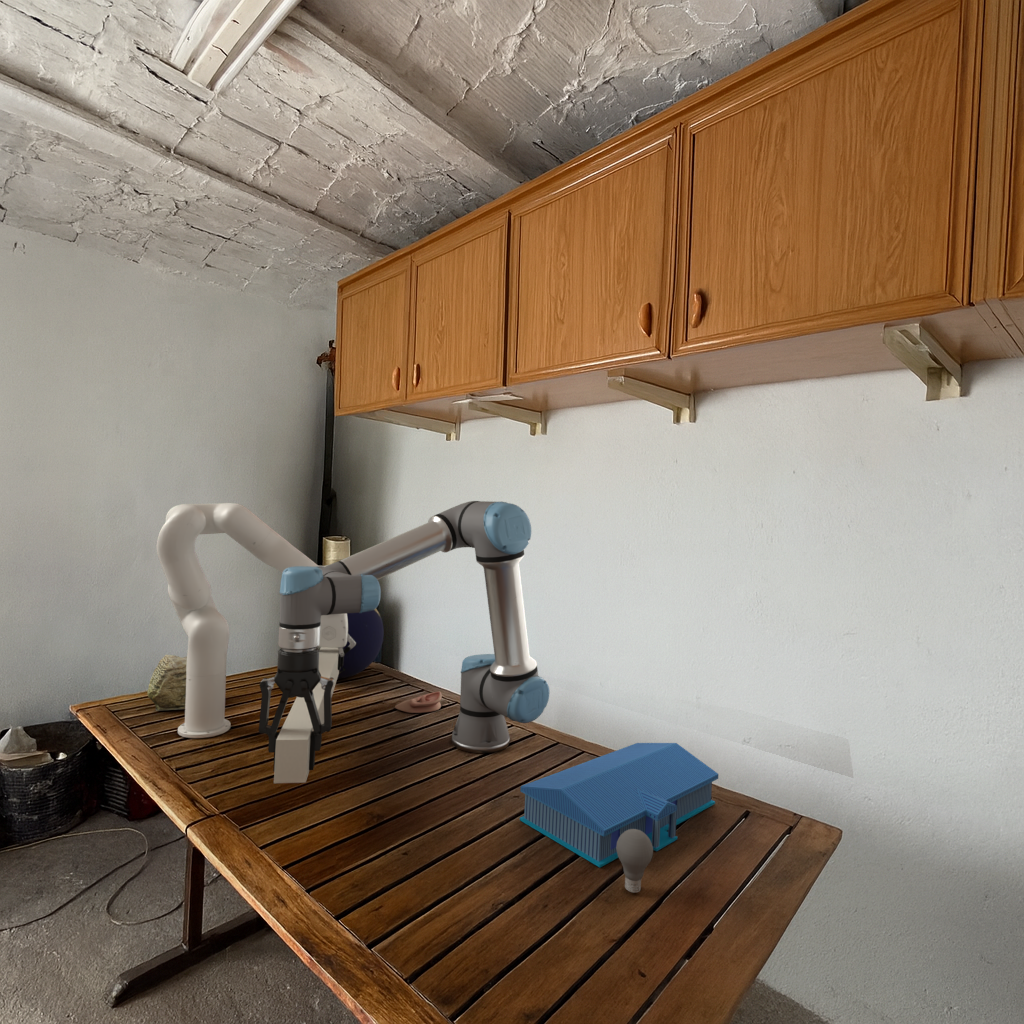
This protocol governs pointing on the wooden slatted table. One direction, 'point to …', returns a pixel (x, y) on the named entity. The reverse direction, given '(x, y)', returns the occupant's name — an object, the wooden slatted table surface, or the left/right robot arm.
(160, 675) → the fossil
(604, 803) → the model building
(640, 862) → the light bulb
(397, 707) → the anatomical model
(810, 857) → the wooden slatted table surface
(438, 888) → the wooden slatted table surface
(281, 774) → the post
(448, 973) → the wooden slatted table surface
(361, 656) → the globe
